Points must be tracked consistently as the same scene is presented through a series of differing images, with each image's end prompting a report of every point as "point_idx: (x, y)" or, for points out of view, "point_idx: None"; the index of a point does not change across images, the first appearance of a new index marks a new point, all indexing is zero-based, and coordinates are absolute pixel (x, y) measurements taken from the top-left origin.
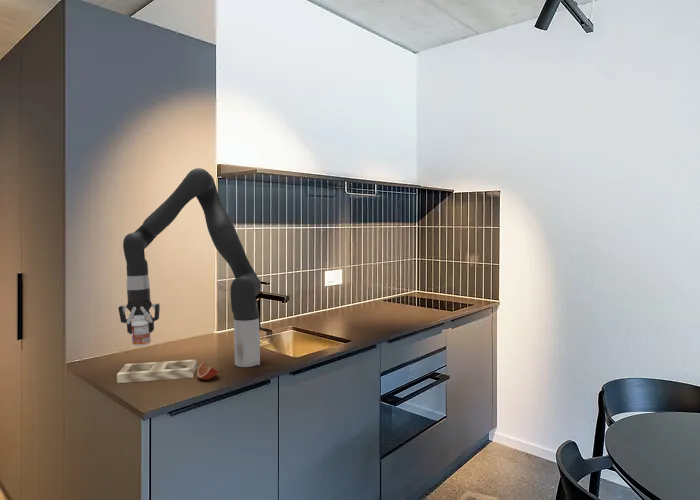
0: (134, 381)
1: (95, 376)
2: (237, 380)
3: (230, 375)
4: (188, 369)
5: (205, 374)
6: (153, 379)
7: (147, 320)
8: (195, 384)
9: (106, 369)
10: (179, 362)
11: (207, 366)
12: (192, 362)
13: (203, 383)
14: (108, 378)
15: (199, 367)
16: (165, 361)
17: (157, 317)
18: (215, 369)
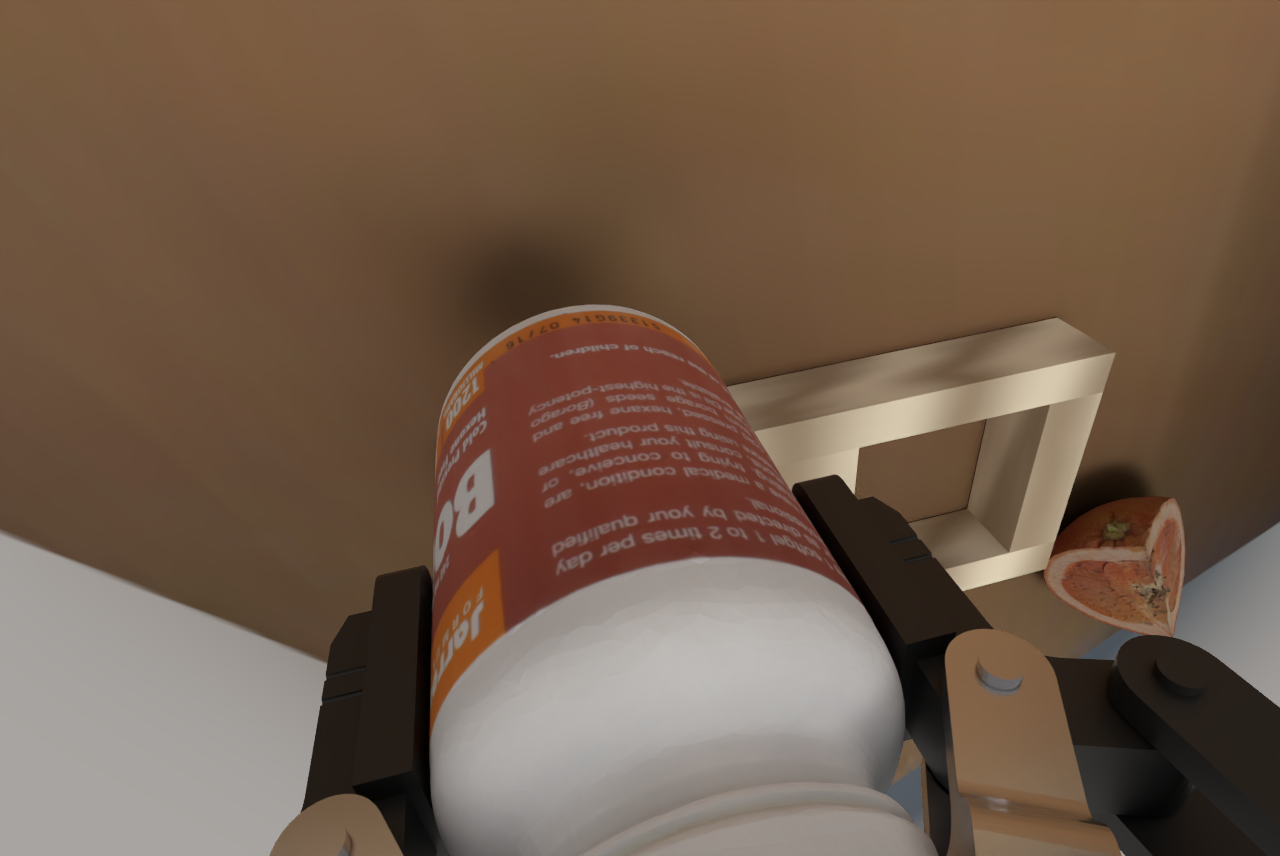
0: None
1: (183, 552)
2: (1224, 541)
3: (1221, 473)
4: (1017, 575)
5: (1099, 618)
6: None
7: (888, 786)
8: (1004, 610)
9: (125, 363)
10: (961, 421)
11: (1153, 604)
12: (1067, 434)
13: (1047, 594)
14: (361, 581)
15: (1096, 556)
16: (837, 411)
17: (1186, 820)
18: (1179, 580)
